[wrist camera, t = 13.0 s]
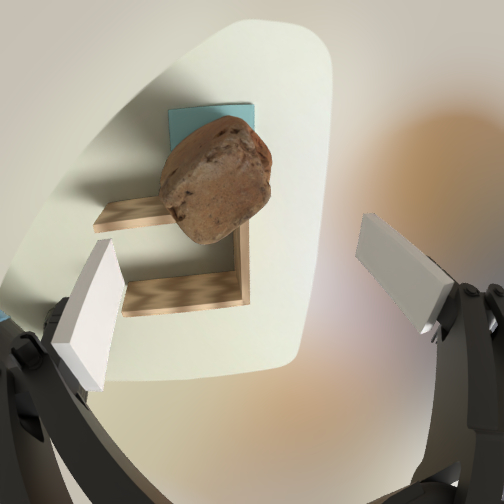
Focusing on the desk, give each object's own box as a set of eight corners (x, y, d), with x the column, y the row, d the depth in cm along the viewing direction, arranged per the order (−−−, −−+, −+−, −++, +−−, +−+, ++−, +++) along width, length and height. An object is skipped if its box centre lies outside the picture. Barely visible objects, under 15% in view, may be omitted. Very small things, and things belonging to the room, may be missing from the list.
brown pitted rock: (197, 189, 40) (202, 262, 23) (165, 151, 36) (139, 199, 19) (256, 145, 38) (309, 186, 21) (226, 104, 34) (258, 107, 18)
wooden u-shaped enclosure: (130, 287, 47) (123, 317, 40) (108, 203, 38) (92, 225, 32) (241, 275, 50) (249, 304, 44) (239, 187, 42) (248, 206, 35)
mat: (175, 188, 40) (174, 190, 39) (168, 110, 33) (168, 110, 33) (253, 181, 42) (254, 183, 41) (253, 104, 35) (254, 104, 35)
